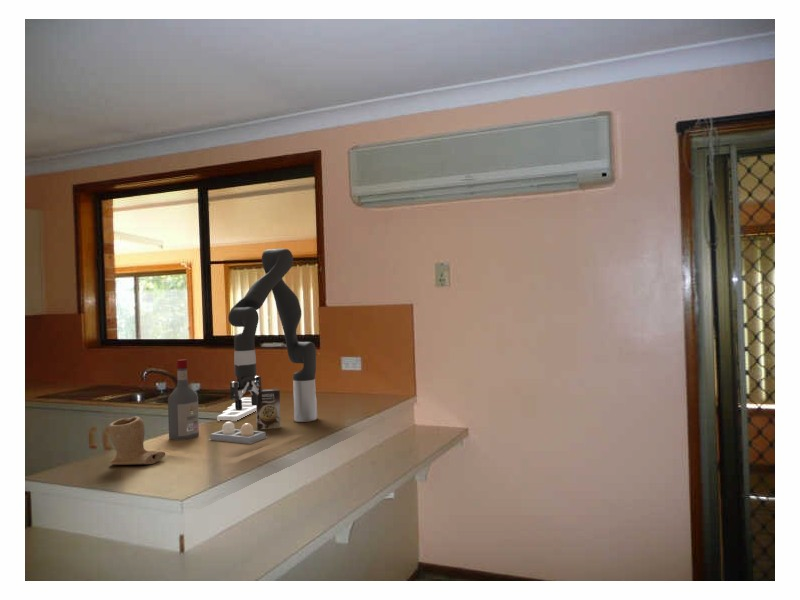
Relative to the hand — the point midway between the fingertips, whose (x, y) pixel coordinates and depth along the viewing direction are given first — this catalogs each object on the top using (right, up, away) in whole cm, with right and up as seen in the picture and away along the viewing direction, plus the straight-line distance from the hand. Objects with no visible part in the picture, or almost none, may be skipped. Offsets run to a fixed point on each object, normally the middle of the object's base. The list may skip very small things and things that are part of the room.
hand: (246, 407), depth 205 cm
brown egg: (0, -11, 0) cm, 11 cm away
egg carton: (-4, -13, +2) cm, 14 cm away
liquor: (-25, -14, +7) cm, 30 cm away
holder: (-20, -14, +62) cm, 67 cm away
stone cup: (-30, -14, -23) cm, 40 cm away
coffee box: (+3, -13, +19) cm, 24 cm away
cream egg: (-8, -12, +3) cm, 14 cm away
